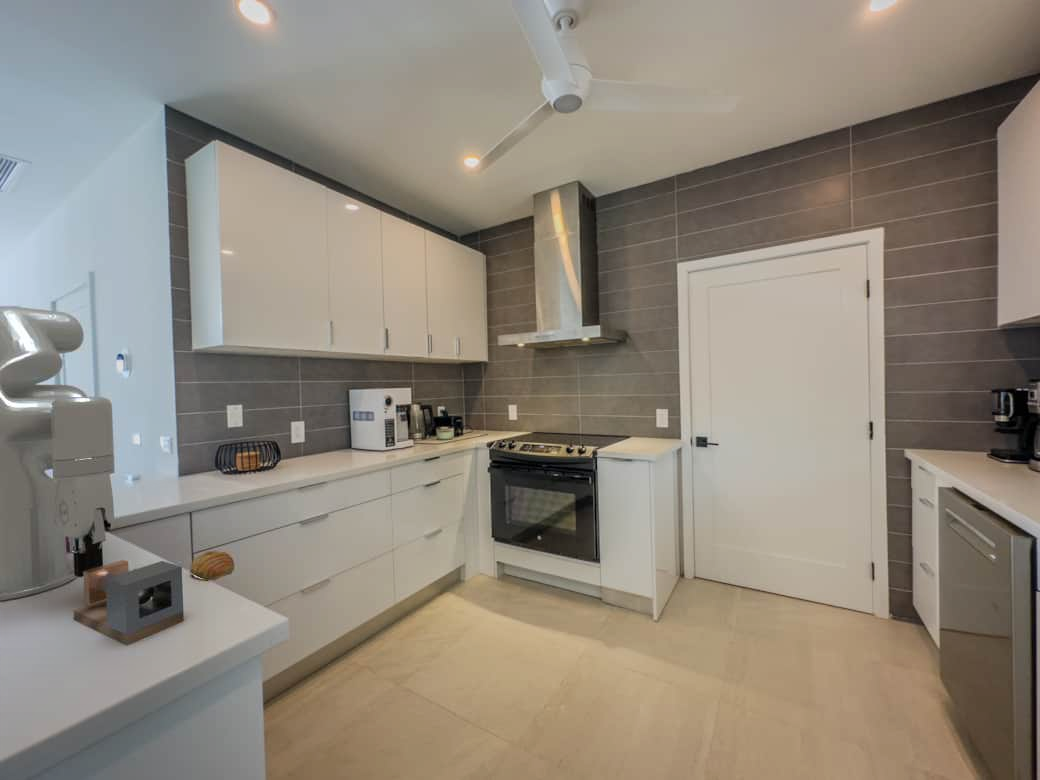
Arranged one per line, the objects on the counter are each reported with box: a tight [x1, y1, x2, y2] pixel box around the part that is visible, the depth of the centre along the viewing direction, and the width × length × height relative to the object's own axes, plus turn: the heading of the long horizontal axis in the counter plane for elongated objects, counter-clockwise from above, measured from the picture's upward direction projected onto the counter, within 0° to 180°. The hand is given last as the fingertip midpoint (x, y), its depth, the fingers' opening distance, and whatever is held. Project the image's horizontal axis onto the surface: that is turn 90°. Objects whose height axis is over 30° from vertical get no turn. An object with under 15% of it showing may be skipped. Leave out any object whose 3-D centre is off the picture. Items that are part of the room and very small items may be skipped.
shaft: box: [82, 559, 154, 605], centre depth 69 cm, size 13×5×5 cm, turn 63°
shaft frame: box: [73, 560, 185, 646], centre depth 68 cm, size 18×7×8 cm, turn 63°
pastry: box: [189, 550, 235, 581], centre depth 85 cm, size 9×7×4 cm
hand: (88, 573), depth 74 cm, fingers closed
